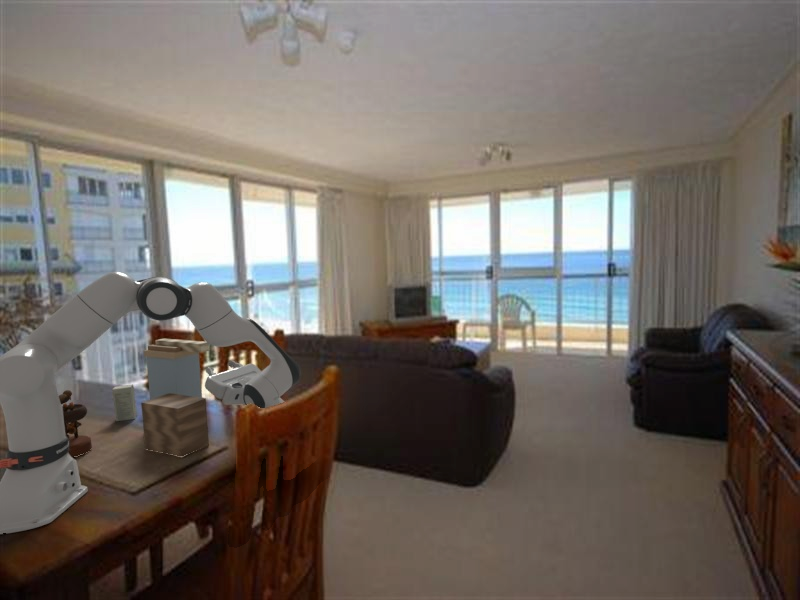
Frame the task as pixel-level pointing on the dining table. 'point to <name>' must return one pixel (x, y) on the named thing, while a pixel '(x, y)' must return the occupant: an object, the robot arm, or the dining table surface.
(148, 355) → the chest
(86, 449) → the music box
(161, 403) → the brown wood grain block
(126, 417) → the skincare box
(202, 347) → the light wood bar
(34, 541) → the dining table surface
